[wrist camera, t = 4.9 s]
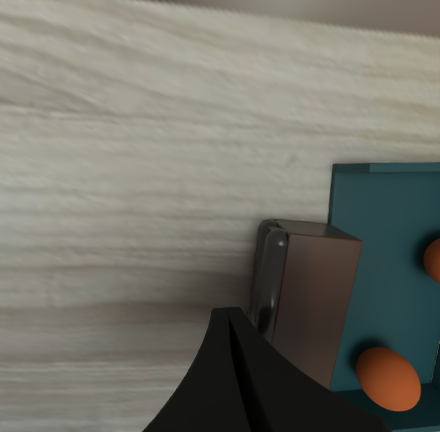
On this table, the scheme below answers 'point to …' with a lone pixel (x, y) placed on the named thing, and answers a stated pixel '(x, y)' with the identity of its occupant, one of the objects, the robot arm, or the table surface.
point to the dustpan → (391, 280)
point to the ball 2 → (433, 260)
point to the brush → (303, 291)
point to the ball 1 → (388, 379)
